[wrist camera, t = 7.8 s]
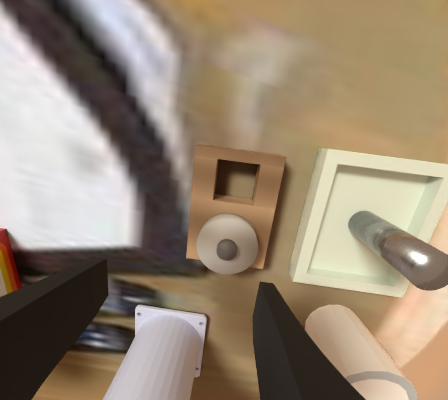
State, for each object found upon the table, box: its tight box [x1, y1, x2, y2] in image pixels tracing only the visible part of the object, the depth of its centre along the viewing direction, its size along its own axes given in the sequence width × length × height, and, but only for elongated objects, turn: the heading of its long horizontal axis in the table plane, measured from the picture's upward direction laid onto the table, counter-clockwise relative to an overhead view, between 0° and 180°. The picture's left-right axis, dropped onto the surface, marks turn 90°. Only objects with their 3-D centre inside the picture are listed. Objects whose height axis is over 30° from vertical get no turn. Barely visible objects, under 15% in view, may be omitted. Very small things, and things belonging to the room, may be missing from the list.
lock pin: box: [348, 211, 448, 290], centre depth 15 cm, size 2×2×7 cm
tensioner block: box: [186, 145, 286, 274], centre depth 17 cm, size 10×7×4 cm
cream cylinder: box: [305, 305, 418, 400], centre depth 19 cm, size 7×7×7 cm
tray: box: [288, 148, 448, 298], centre depth 18 cm, size 12×10×2 cm
